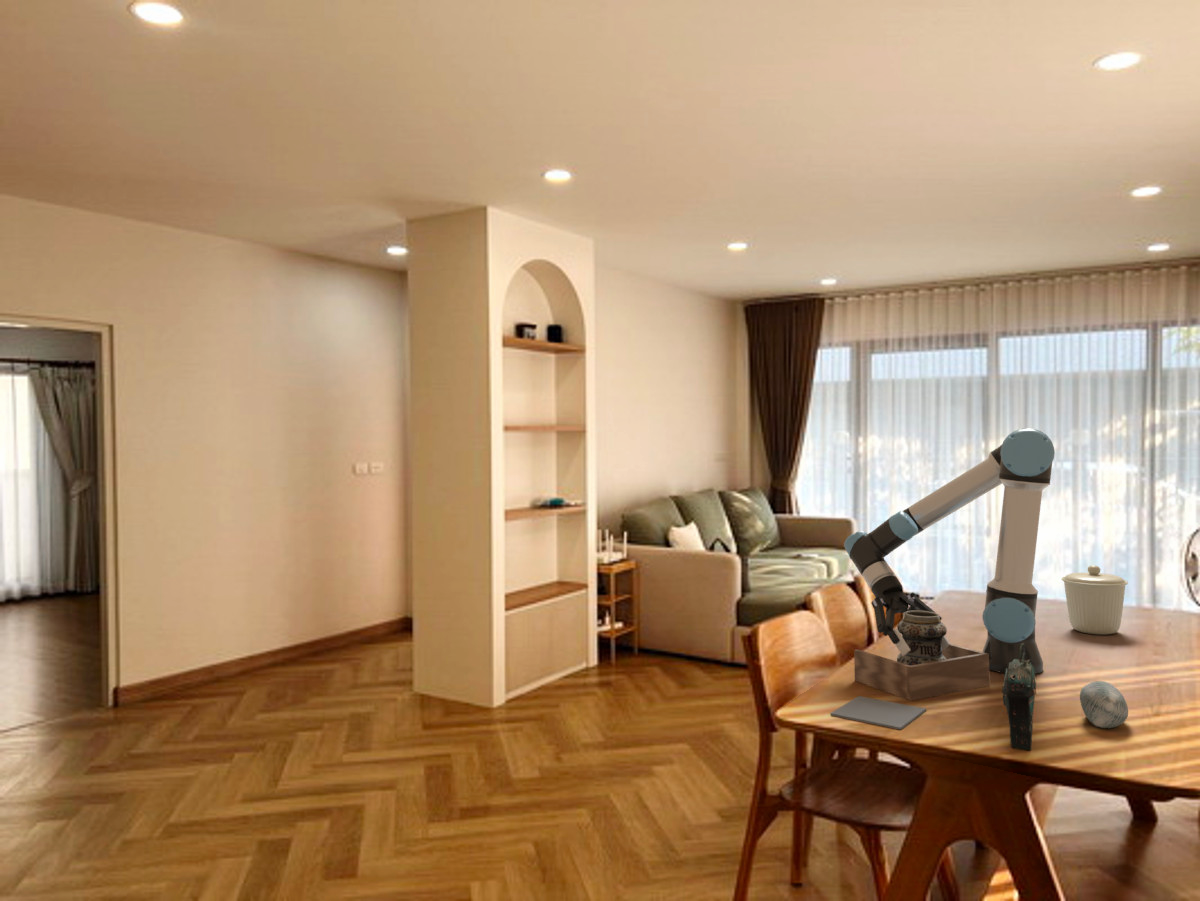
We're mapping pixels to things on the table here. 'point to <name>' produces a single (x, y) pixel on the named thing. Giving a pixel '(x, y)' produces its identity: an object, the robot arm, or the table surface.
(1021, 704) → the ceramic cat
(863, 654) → the walnut u-shaped frame
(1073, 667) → the table surface
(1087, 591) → the canister
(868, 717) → the rubber mat
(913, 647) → the apothecary jar
